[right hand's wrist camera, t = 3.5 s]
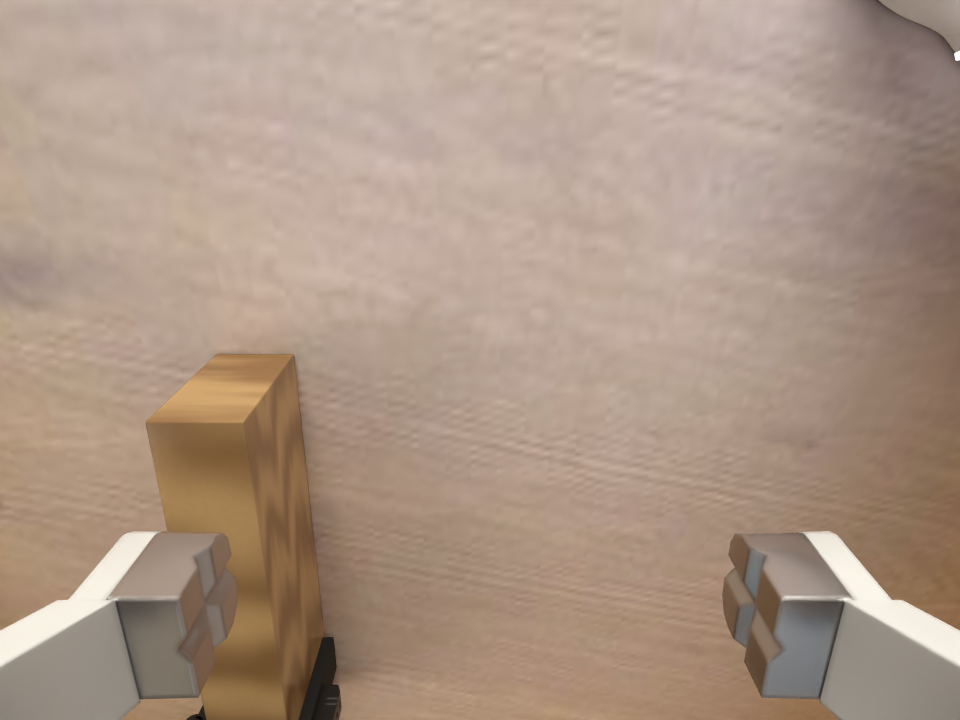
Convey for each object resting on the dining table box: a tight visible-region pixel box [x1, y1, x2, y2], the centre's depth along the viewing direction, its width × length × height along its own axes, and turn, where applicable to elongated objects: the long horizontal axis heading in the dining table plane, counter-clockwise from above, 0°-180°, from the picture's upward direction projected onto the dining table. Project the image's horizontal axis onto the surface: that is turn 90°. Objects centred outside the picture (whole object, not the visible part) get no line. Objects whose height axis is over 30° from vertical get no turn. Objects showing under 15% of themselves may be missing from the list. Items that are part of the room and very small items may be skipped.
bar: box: [146, 354, 325, 720], centre depth 38 cm, size 26×4×9 cm, turn 0°
